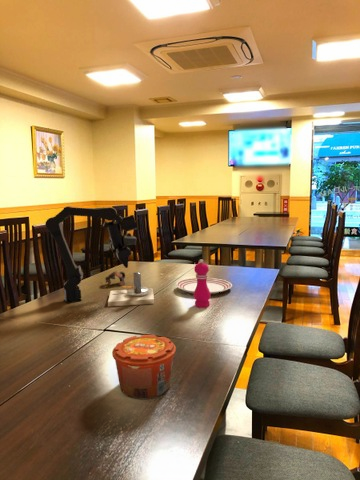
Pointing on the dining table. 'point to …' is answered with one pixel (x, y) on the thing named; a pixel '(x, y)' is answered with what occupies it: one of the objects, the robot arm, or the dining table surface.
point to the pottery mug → (117, 276)
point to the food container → (144, 365)
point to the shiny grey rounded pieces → (137, 287)
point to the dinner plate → (212, 284)
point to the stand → (129, 298)
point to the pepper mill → (202, 285)
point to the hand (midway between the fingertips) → (124, 264)
